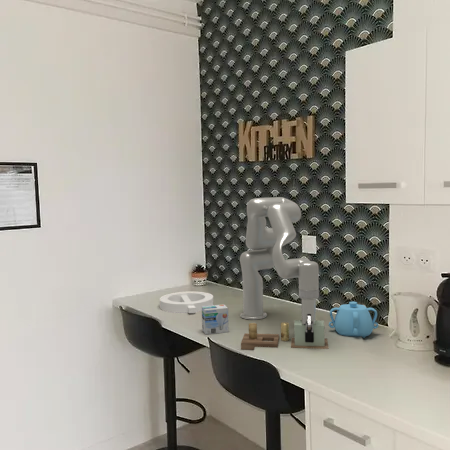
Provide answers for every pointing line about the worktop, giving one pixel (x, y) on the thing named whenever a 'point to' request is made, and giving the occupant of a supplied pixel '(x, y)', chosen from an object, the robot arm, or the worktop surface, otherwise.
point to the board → (310, 346)
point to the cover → (301, 329)
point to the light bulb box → (215, 319)
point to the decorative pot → (353, 320)
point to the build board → (258, 339)
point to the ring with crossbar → (185, 301)
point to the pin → (284, 331)
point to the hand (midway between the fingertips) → (309, 338)
